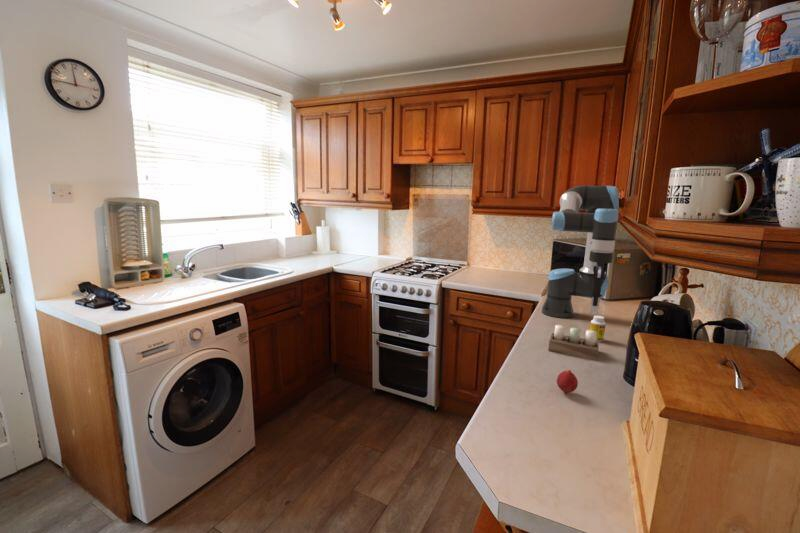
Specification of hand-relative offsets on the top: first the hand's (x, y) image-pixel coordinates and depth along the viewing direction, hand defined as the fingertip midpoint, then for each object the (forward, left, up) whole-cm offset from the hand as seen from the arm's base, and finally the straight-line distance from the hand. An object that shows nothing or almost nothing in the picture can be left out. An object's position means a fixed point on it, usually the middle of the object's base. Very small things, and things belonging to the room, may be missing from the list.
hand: (593, 313), depth 142 cm
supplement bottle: (-18, +2, -17) cm, 25 cm away
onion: (+37, -6, -17) cm, 41 cm away
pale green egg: (0, -6, -12) cm, 13 cm away
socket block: (0, -6, -16) cm, 17 cm away
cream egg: (0, -11, -12) cm, 16 cm away
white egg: (0, 0, -12) cm, 12 cm away
